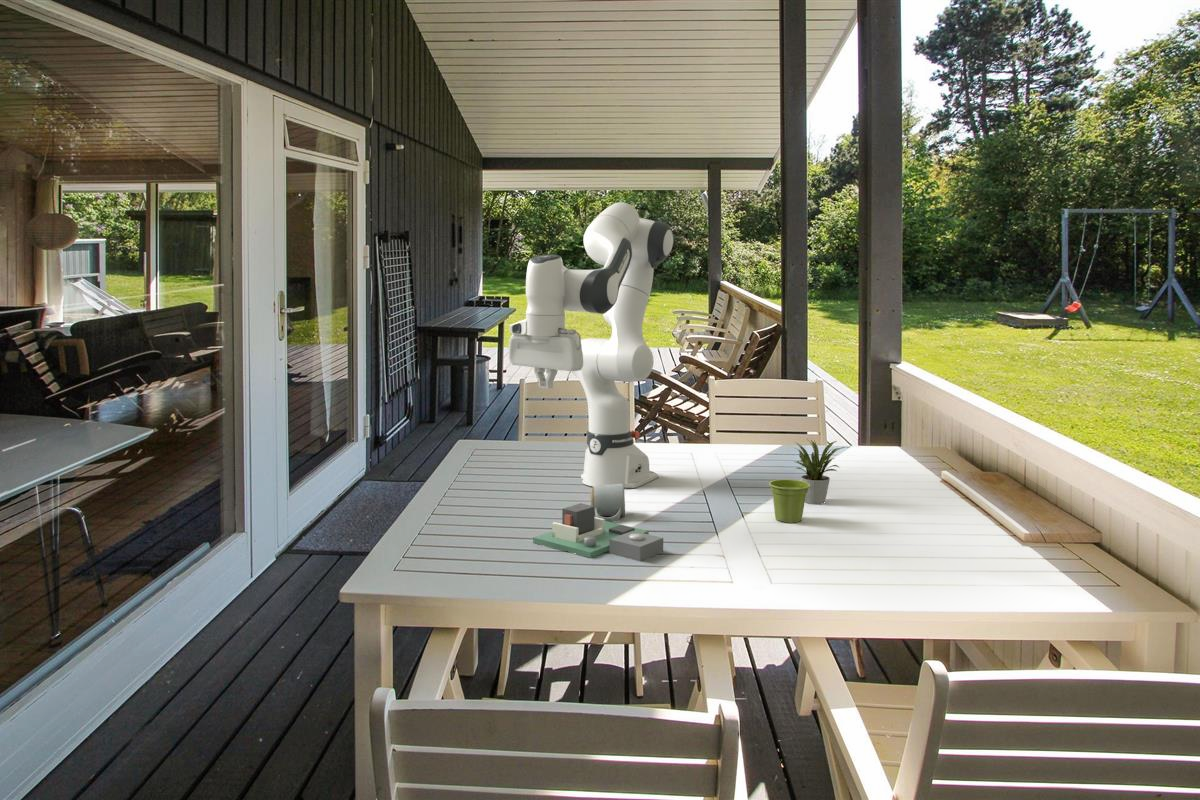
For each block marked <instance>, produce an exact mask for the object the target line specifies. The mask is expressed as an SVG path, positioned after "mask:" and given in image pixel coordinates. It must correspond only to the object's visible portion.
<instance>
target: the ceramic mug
mask: <svg viewBox="0 0 1200 800" xmlns="http://www.w3.org/2000/svg"><path fill="white" fill-rule="evenodd" d="M625 497H626V496H625V488H624V484H612V485H598V486H594V487H593V486H591V488H590V505H591V506H595V516H594V517H597V518H602V519H605V521H608V522H612V523H616V522H617V520H619V519H620V518H621V517H625V516H626V501H625V499H626V498H625Z"/></svg>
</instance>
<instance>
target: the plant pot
mask: <svg viewBox="0 0 1200 800" xmlns="http://www.w3.org/2000/svg"><path fill="white" fill-rule="evenodd" d="M768 486H770V491H771V492H772V500H773V509H774V519H775V520H776V521H779V522H780V521H782V522H784V523H789V524H790V523H793V524H795V523H798V522H799V521H800V522H801V521H802V520H803V515H804V510H805V509H804V508H805V503H806V502H805V498H806V493H807V492H808V488H809V487H810V484H809V483H807V482H804V481H802V480H800V479H799V480H798V479H785V478H784V479H782V478H781V479H774V480H771V481H769V482H768Z"/></svg>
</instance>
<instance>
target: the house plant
mask: <svg viewBox="0 0 1200 800" xmlns="http://www.w3.org/2000/svg"><path fill="white" fill-rule="evenodd" d="M806 440H807V441H808V442H809V443H810V444H811V446H812V448H813V452H811V455H810V454H809V453H808V451H807V450H806V448H804V447H803V446H802V445H801V444H799V443H798V442H795V444H796V445H797V446H798V447H799V448H800V449H798V448H796V447H794V449H795V450H797V451H798V453H799V454H798V455H799V459H800V460H798V461H793V462H794V463H797V464H798V465H800V466H802V467H804V468H805V469H806V470H804V469H803V468H802V467H796V468H795V470H796V469H797V470H801V471H804V473H805V474H803V475H800V481H804V482H807V483H809V484H810V487H809V488H808V492H807V493H806V498H805V503H806V504H809V503H810V504H811V505H821V504H820V503H823V504H825V503H826V499H827V495H828V490H829V486H830V480H831V478H830V477H829V476H827V475H824V473H826V472H830V471H832V472H833V471H834V472H837V469H834V468H832V467H837V468H840V466H839V465H837V464H832V465H831V466H828V465H829V464H830V463H831V462H832V460H834V459H836V458H835V457H833V458H831V457H832V456H833V454H835V453H836V452H837V451H839V450H841V449H846V448H847V449H849V448H851V447H849V446H847V447H846V446H844V447H836V448H835V447H833V448H831V447H832V446H833V445H834V443H837V442H838V441H837V440H835V441H832V442H830V443H828V444H827V445H826V447H824V449H823V451H822V454H821V456H820V454H819V453H820V451H819V447H818V445H817V443H816V441H815V439H813V440H809V439H808V438H806ZM830 448H831V449H830ZM824 502H825V503H824ZM810 504H809V505H810Z"/></svg>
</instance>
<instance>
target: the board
mask: <svg viewBox="0 0 1200 800" xmlns="http://www.w3.org/2000/svg"><path fill="white" fill-rule="evenodd" d="M631 531H636V532H640V533H645V534H649V533H650V532H649V530H647V529H642V528H639V527H638V528H637V527H633V526H629V525H625V524H620V523H616V522H608V521H605V519H602V518H597V517H596V516H594V530H593V531H590V532H587V533H584V534H581V535H578V528H577V527H573V526H568V525H564V524H562V523H560V522H556V521H553V522H551V531H549V532H546V533H542V534H538V535H537V536H534V537H532V543H533V544H536V545H539V544H540V546H543V545H544V547H547V548H551V547H552V549H554V548H556V549H555V550H558V549H560V550H559V551H562V550H564V551H563V552H566V551H568V552H567V553H570V552H572V553H571V554H573V553H576V554H575V555H577V554H579V555H578V556H581V555H582V556H581V557H585V558H588V557H589V559H591V558H594V557H597V556H599V555H602V554H604V552H605V553H607V551H608V552H609V539H611V538H614V537H617V536H620V535H623V534H625V533H628V532H631ZM649 535H650V534H649ZM596 555H597V556H596Z"/></svg>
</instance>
